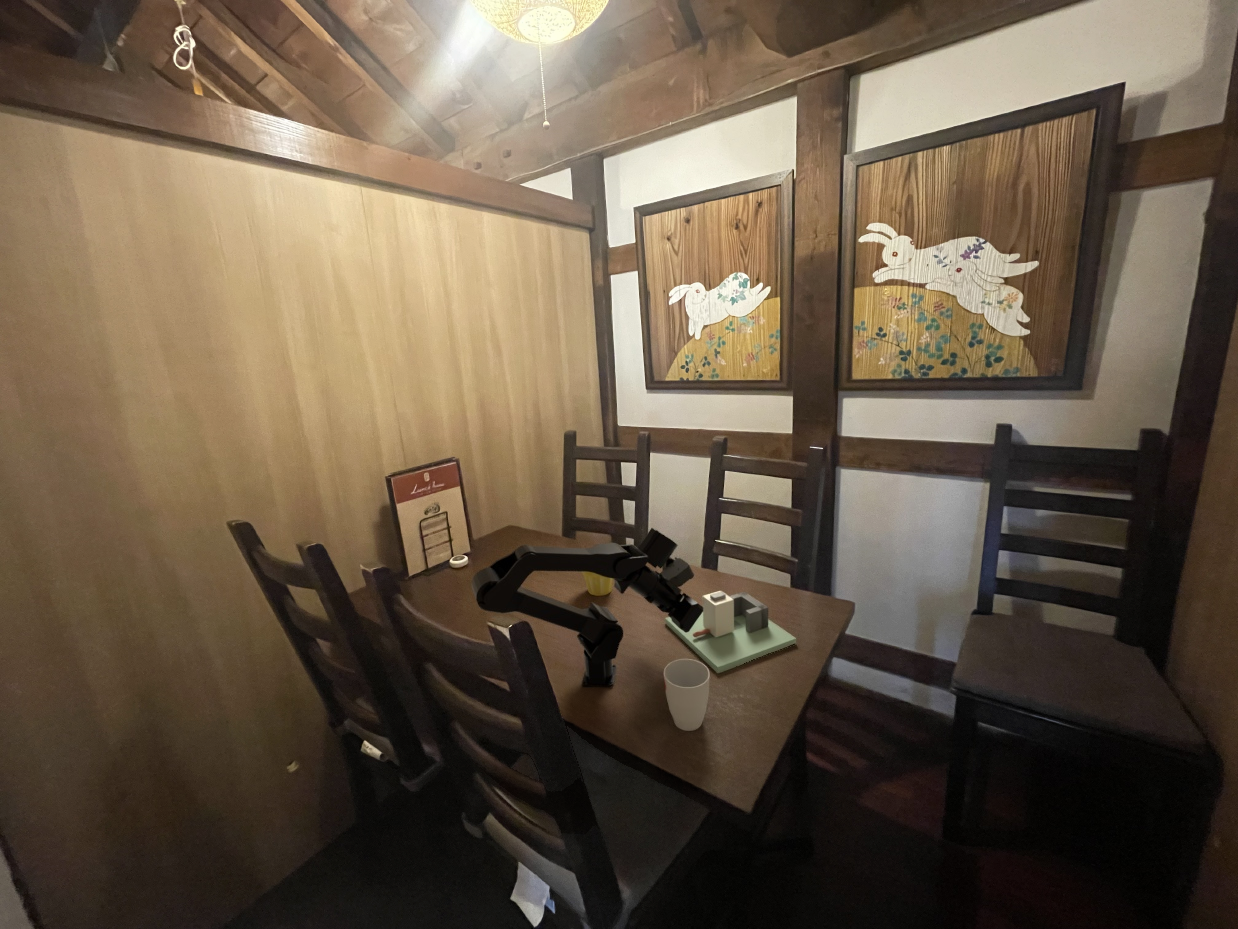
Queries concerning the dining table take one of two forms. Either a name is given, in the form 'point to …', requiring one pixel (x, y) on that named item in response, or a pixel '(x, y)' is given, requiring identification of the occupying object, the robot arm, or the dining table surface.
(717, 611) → the plug
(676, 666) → the cup
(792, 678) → the dining table surface
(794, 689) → the dining table surface
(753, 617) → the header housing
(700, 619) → the board
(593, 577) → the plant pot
